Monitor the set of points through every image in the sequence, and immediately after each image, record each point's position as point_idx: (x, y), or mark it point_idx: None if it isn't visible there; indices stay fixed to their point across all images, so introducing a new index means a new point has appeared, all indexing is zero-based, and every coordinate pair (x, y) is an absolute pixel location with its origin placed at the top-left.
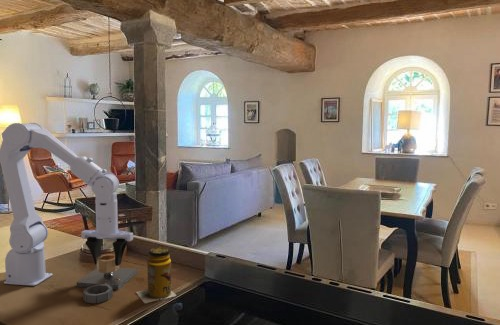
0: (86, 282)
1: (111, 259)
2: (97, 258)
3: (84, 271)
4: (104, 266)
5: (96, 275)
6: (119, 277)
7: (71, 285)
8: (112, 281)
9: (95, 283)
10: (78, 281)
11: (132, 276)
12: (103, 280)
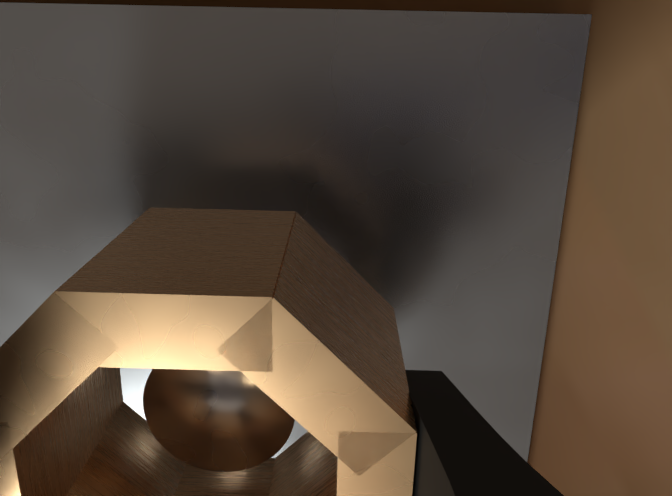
0: (434, 35)
1: (8, 406)
2: (385, 430)
3: (667, 475)
4: (157, 243)
5: (408, 296)
6: (53, 275)
7: (661, 46)
8: (65, 127)
9: (275, 17)
10: (575, 48)
11: None
12: (215, 143)
